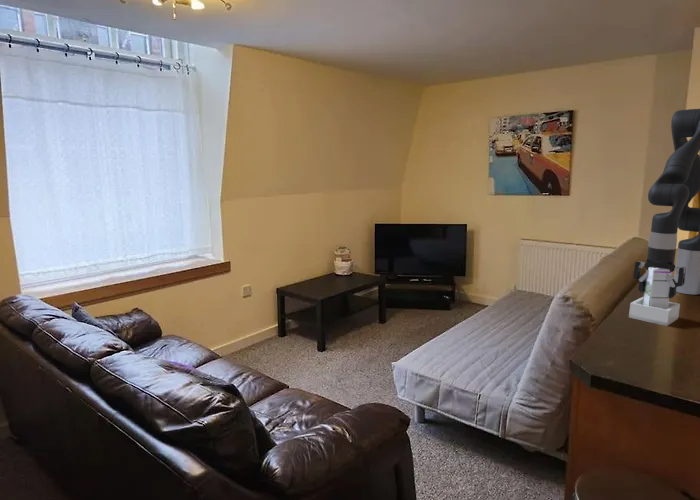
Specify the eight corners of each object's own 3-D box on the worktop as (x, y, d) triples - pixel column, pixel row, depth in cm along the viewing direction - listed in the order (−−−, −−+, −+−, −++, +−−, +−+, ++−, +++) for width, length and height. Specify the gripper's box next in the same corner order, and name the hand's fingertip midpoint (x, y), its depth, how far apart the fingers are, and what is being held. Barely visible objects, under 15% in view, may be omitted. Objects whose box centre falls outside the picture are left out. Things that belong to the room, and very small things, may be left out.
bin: (641, 310, 163) (642, 296, 162) (678, 318, 154) (680, 303, 153) (628, 317, 156) (630, 303, 155) (666, 326, 147) (668, 310, 146)
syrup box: (668, 313, 151) (674, 269, 148) (648, 312, 152) (653, 268, 150) (660, 307, 157) (665, 265, 154) (641, 306, 158) (646, 264, 155)
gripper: (692, 247, 147) (685, 297, 151) (641, 242, 158) (636, 288, 161) (684, 250, 143) (678, 302, 146) (633, 244, 153) (628, 292, 157)
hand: (656, 295), depth 154 cm, fingers closed on syrup box, 7 cm apart
